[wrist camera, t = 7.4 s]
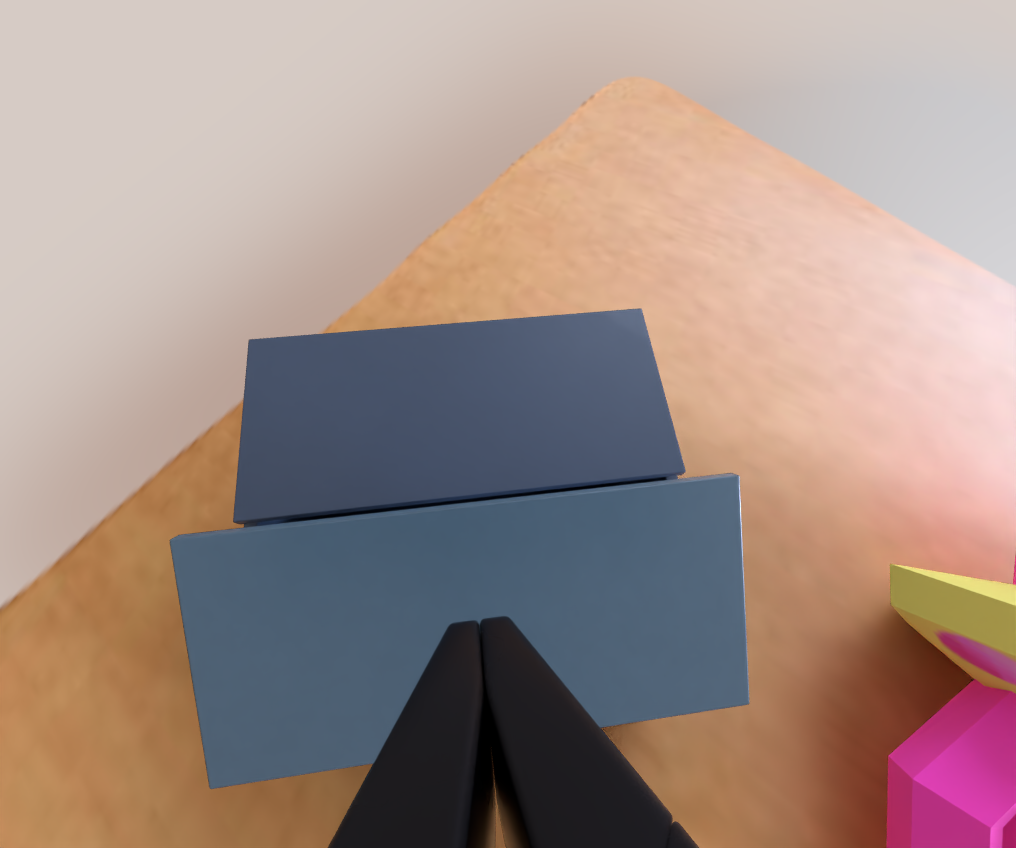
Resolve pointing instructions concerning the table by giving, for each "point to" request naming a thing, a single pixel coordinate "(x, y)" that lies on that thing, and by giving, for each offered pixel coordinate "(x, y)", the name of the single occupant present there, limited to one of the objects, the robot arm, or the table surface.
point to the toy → (959, 718)
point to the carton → (450, 416)
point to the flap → (458, 614)
